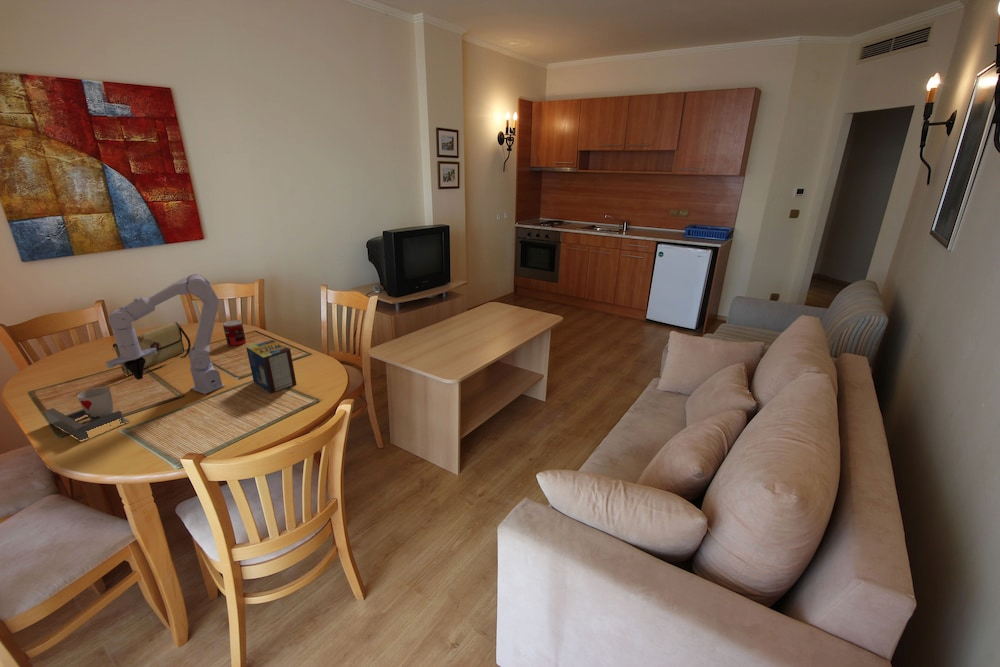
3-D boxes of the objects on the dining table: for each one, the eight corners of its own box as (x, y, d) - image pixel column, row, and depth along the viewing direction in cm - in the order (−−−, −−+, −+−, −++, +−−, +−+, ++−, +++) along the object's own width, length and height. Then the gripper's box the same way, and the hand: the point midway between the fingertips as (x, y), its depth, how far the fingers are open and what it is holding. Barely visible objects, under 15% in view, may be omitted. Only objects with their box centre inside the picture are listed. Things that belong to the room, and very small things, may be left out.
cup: (82, 420, 146) (72, 394, 142) (111, 409, 153) (102, 384, 149) (93, 427, 143) (83, 400, 139) (122, 416, 149) (114, 390, 146)
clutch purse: (132, 380, 174) (121, 346, 168) (119, 378, 175) (107, 344, 170) (197, 352, 201) (189, 321, 195) (185, 350, 202) (177, 320, 197)
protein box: (279, 373, 182) (272, 339, 176) (297, 384, 172) (290, 348, 167) (252, 382, 174) (245, 346, 168) (270, 394, 165) (263, 357, 159)
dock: (130, 422, 146) (125, 409, 144) (81, 442, 135) (76, 429, 133) (98, 406, 155) (93, 393, 153) (50, 423, 144) (44, 410, 142)
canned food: (229, 341, 213) (225, 320, 209) (248, 340, 215) (243, 319, 211) (225, 347, 206) (220, 326, 202) (244, 346, 208) (239, 324, 204)
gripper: (145, 335, 158) (155, 368, 163) (96, 348, 146) (109, 384, 151) (156, 338, 155) (166, 372, 160) (107, 352, 143) (119, 388, 148)
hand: (139, 378), depth 155 cm, fingers closed
